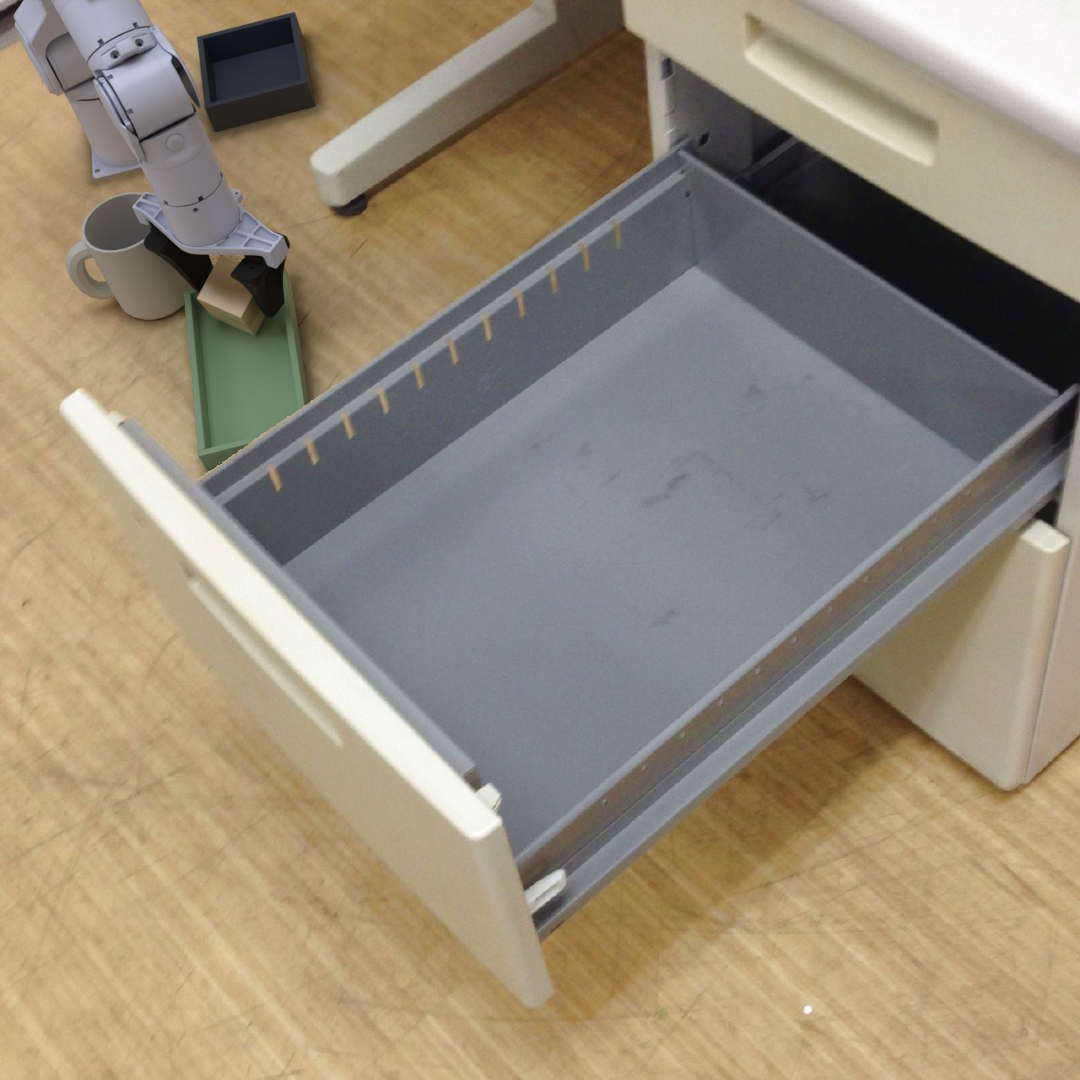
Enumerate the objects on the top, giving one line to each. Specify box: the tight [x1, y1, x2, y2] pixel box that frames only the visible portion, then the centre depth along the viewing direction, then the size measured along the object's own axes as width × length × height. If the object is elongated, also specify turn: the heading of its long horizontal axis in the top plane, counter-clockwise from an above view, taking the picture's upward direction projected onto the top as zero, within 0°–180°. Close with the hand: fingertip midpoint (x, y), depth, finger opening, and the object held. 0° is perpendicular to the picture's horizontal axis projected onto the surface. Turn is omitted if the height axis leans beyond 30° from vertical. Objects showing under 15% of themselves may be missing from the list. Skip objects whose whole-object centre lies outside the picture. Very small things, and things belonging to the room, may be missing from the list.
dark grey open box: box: [196, 11, 316, 133], centre depth 151 cm, size 11×10×4 cm
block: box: [197, 255, 265, 336], centre depth 131 cm, size 4×4×4 cm
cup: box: [65, 191, 192, 321], centre depth 134 cm, size 7×10×9 cm
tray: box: [184, 265, 310, 473], centre depth 130 cm, size 19×9×2 cm, turn 12°
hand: (240, 296), depth 132 cm, fingers open, 7 cm apart
